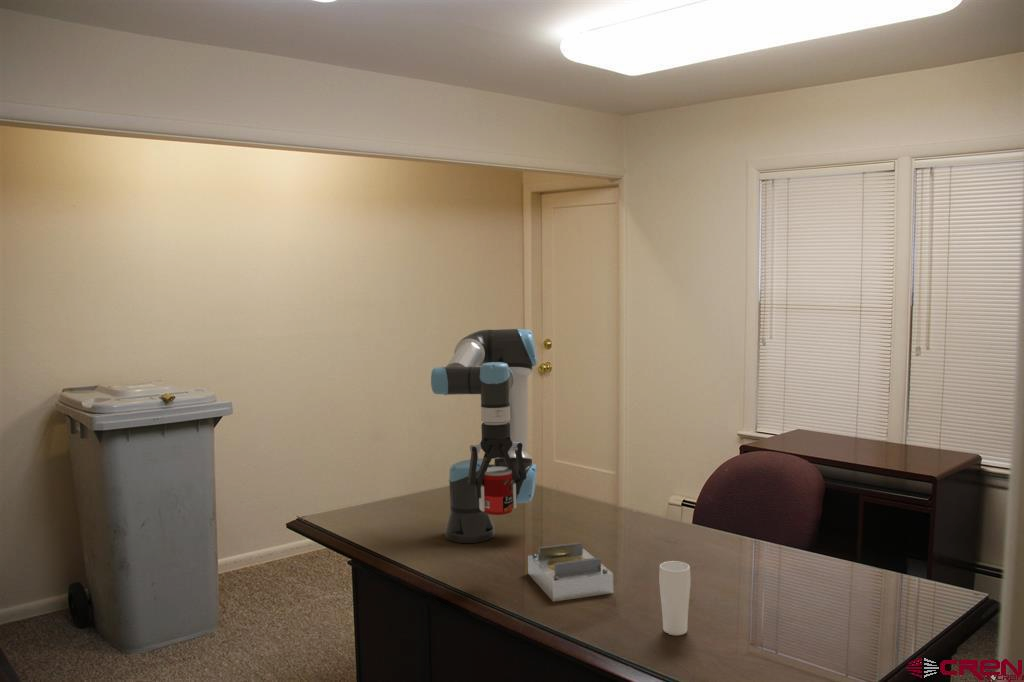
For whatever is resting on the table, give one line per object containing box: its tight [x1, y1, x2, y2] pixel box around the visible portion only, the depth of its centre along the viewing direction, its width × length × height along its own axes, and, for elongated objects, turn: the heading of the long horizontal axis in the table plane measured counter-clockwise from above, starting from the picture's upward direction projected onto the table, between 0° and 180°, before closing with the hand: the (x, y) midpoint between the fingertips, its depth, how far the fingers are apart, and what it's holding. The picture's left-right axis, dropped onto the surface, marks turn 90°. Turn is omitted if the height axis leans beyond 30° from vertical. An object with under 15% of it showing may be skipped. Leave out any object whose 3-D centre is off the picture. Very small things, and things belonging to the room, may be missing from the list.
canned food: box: [482, 467, 514, 516], centre depth 216 cm, size 8×8×11 cm
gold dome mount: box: [527, 541, 614, 602], centre depth 214 cm, size 20×16×8 cm
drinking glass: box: [658, 560, 691, 636], centre depth 184 cm, size 7×7×15 cm
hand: (497, 508), depth 216 cm, fingers closed on canned food, 8 cm apart
